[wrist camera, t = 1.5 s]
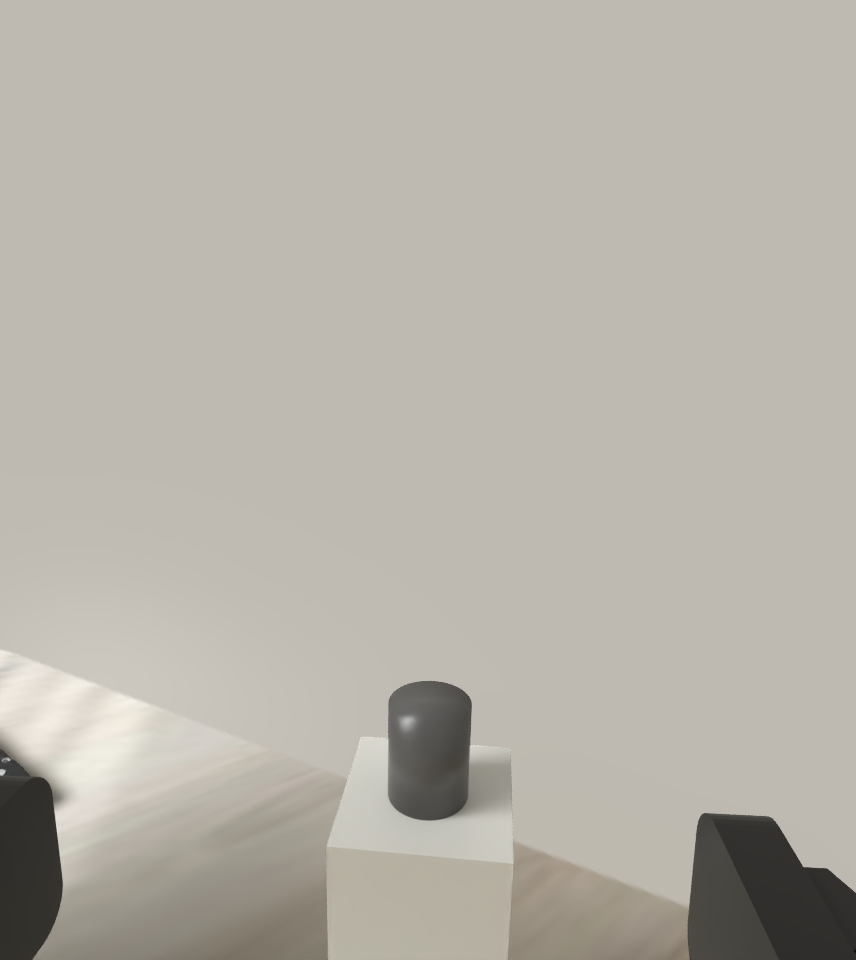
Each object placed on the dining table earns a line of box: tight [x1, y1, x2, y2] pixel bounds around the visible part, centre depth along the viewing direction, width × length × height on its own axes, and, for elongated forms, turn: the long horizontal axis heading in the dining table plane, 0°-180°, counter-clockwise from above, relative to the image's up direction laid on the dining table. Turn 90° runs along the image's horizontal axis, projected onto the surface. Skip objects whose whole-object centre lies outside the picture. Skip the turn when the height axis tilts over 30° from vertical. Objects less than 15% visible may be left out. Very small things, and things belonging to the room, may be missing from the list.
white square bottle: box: [326, 681, 513, 960], centre depth 22 cm, size 5×5×17 cm
